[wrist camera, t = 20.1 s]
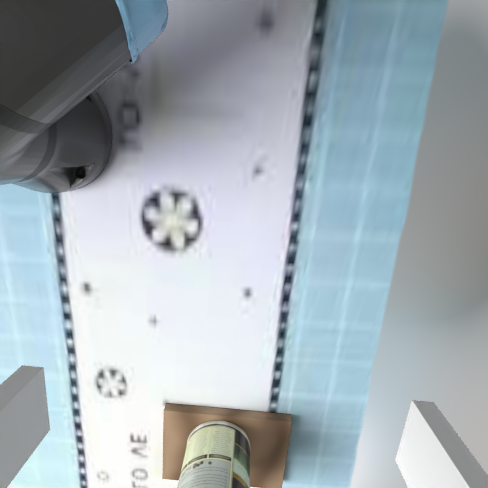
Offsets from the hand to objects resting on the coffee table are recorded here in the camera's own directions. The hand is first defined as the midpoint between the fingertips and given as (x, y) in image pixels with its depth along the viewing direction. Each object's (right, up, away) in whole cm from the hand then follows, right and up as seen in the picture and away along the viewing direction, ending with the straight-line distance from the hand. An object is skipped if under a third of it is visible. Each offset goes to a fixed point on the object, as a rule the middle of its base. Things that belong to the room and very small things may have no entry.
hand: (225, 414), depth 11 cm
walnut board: (-2, -27, +41) cm, 49 cm away
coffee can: (-3, -26, +39) cm, 47 cm away
